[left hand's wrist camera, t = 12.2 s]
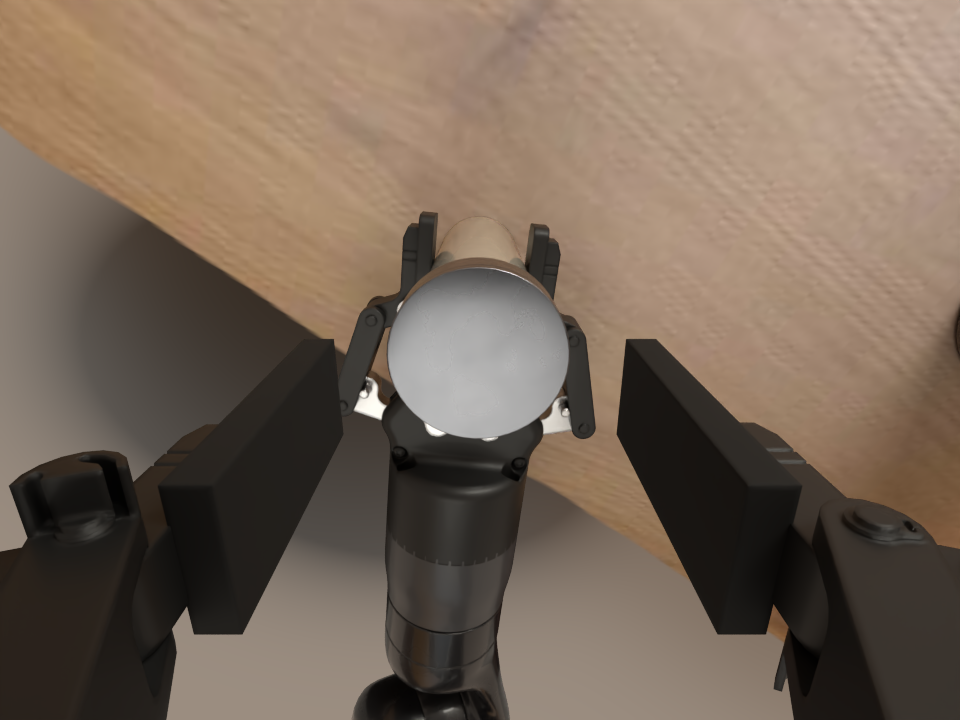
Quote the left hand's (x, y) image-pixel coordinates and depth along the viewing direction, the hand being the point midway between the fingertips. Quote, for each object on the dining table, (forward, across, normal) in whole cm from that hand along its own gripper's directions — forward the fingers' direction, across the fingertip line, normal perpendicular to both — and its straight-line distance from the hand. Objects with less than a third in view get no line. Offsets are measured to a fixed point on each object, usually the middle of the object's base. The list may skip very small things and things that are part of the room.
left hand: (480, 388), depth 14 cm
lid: (+2, 0, 0) cm, 2 cm away
